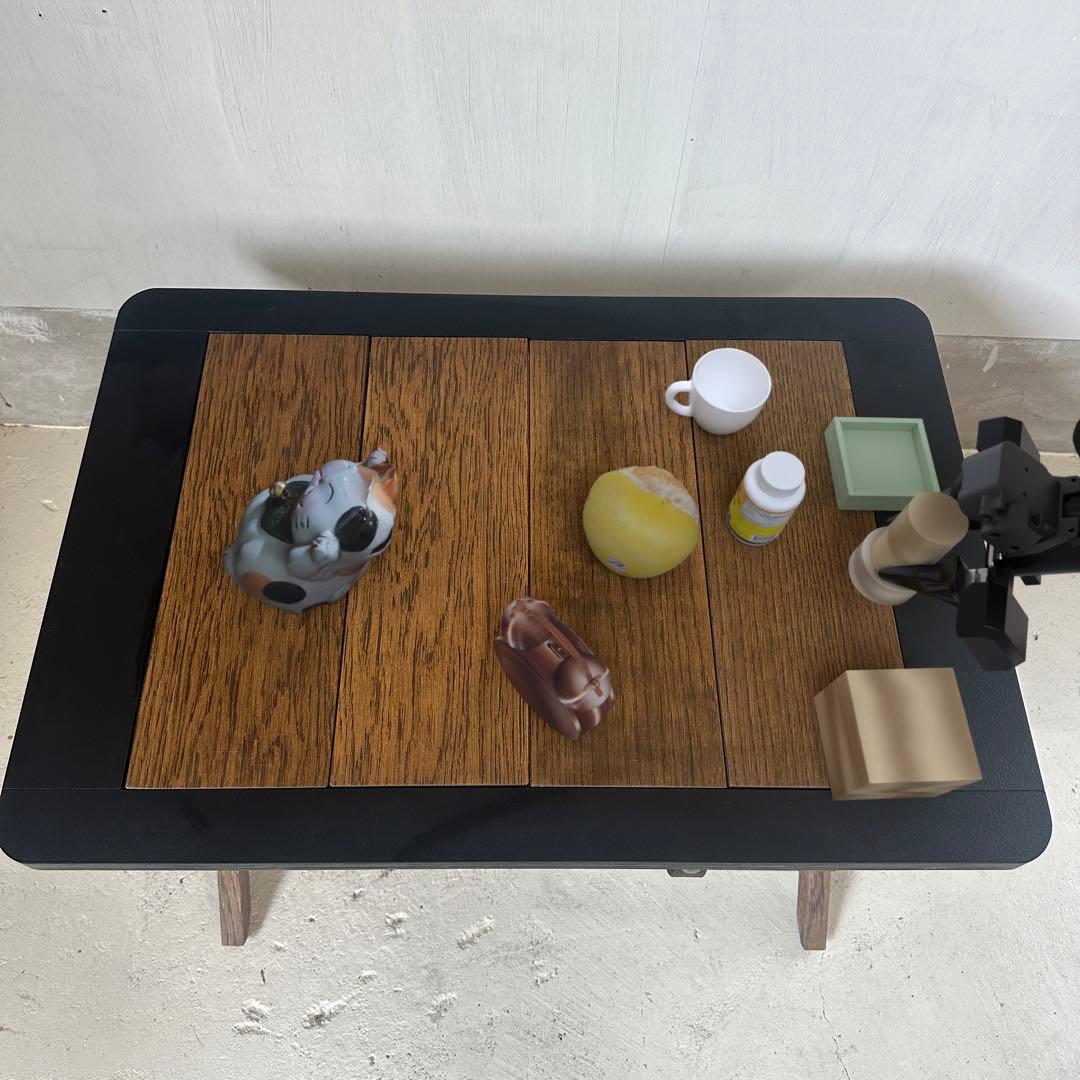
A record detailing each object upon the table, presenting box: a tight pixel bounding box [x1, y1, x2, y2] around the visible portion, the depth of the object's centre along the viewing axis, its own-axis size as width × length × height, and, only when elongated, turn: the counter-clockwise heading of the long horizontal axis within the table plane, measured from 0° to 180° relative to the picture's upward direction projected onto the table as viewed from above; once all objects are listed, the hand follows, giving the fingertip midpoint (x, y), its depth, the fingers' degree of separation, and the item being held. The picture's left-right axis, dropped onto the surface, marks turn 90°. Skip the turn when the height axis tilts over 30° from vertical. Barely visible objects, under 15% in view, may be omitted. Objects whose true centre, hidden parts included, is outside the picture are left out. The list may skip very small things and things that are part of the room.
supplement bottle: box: [726, 450, 806, 547], centre depth 79 cm, size 6×6×10 cm
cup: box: [664, 347, 772, 436], centre depth 86 cm, size 8×10×7 cm
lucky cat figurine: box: [221, 447, 399, 615], centre depth 75 cm, size 15×12×14 cm
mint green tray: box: [823, 416, 941, 512], centre depth 86 cm, size 9×9×3 cm
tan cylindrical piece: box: [848, 491, 969, 606], centre depth 66 cm, size 6×6×10 cm
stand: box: [813, 667, 983, 802], centre depth 71 cm, size 9×9×8 cm
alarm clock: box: [492, 596, 616, 741], centre depth 68 cm, size 11×5×15 cm, turn 42°
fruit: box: [582, 465, 701, 579], centre depth 78 cm, size 10×11×10 cm
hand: (884, 549), depth 68 cm, fingers closed on tan cylindrical piece, 4 cm apart
